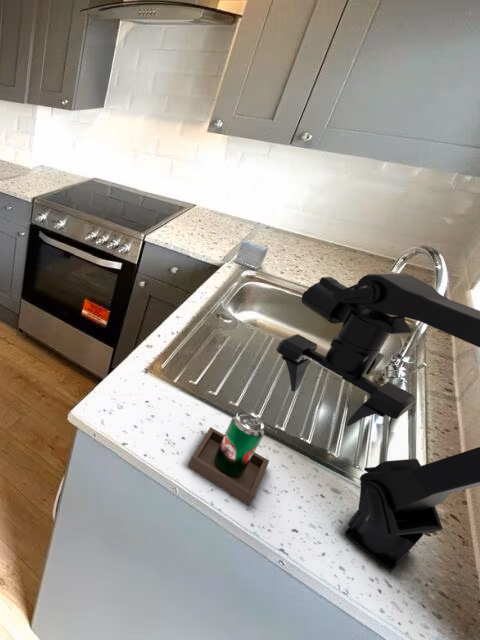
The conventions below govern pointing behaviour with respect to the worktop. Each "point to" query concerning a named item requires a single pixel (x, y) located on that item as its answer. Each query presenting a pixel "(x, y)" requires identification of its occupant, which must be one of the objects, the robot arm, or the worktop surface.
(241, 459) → the soda can
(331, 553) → the worktop surface
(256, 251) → the medicine box
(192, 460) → the tray
